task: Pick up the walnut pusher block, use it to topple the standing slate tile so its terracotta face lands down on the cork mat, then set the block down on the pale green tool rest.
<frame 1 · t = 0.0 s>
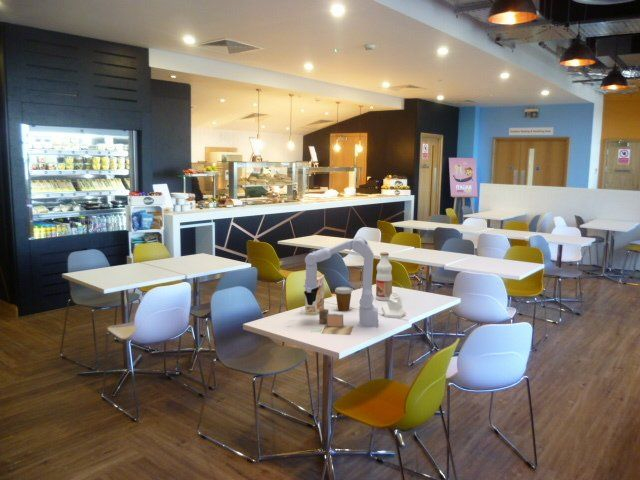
hand: (311, 303, 271), 10 cm above the table, fingers open, 7 cm apart
disposable coffee cup: (343, 309, 296), on the table
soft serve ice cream: (393, 315, 285), on the table
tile: (335, 326, 264), resting on mat
tool rest: (316, 331, 258), on the table
mat: (337, 330, 259), on the table
fruit juice: (383, 299, 318), on the table
coffeecake box: (315, 311, 293), on the table
pusher block: (323, 323, 270), on the table
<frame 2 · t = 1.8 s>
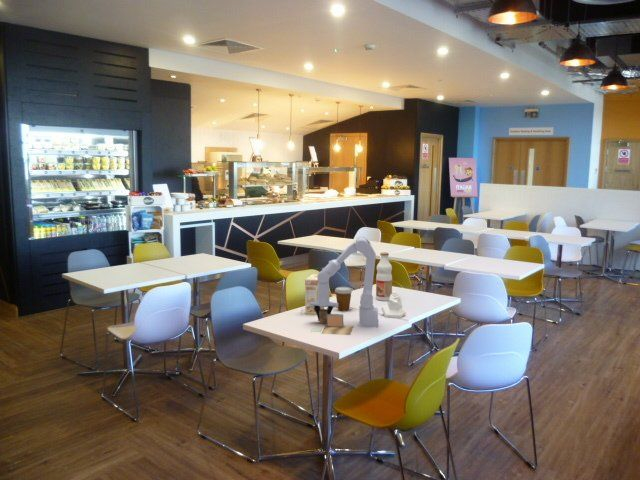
hand: (323, 320, 270), 2 cm above the table, fingers closed on pusher block, 4 cm apart
pusher block: (323, 323, 270), on the table, touching gripper
everything else where it was.
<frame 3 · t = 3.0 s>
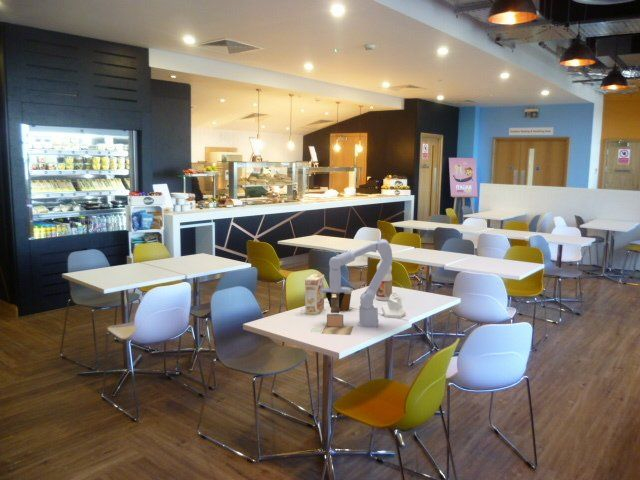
hand: (335, 307, 268), 9 cm above the table, fingers closed on pusher block, 4 cm apart
pusher block: (335, 311, 268), point 6 cm above the table, touching gripper
everything else where it was.
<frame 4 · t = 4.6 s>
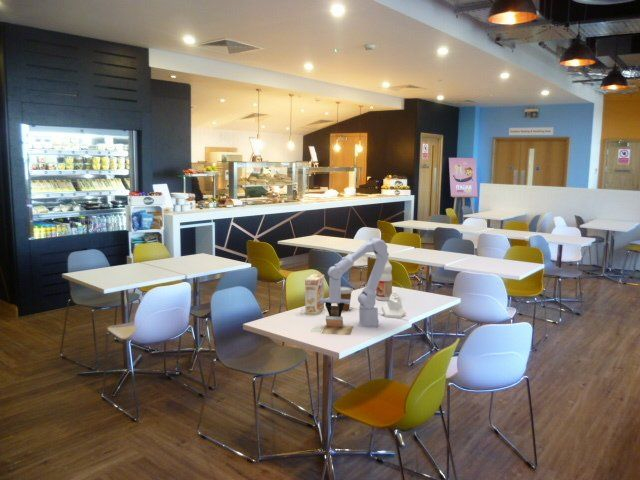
hand: (335, 317, 264), 5 cm above the table, fingers closed on pusher block, 4 cm apart
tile: (335, 325, 264), point 1 cm above the table, tilted 35°, touching mat
pusher block: (335, 320, 266), point 3 cm above the table, tilted 14°, touching gripper
everything else where it was.
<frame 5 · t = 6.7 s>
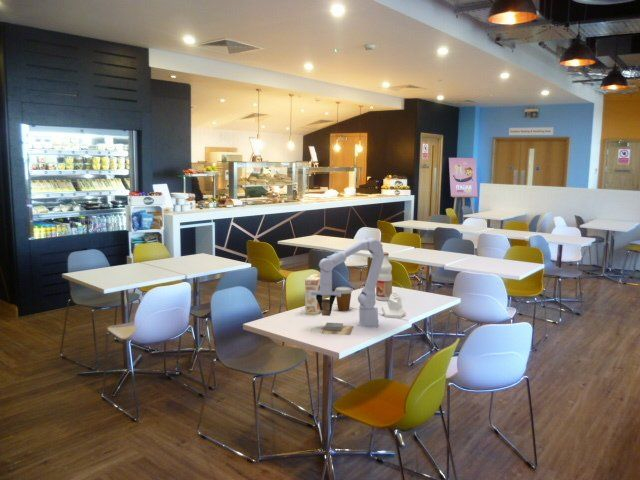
hand: (326, 310, 262), 9 cm above the table, fingers closed on pusher block, 4 cm apart
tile: (334, 324, 263), point 2 cm above the table, tilted 90°, touching mat
pusher block: (326, 313, 264), point 7 cm above the table, tilted 12°, touching gripper
everything else where it was.
when the fingers open (3 cm above the table, at t = 8.6 s): pusher block moves 2 cm and tips over, point 2 cm above the table.
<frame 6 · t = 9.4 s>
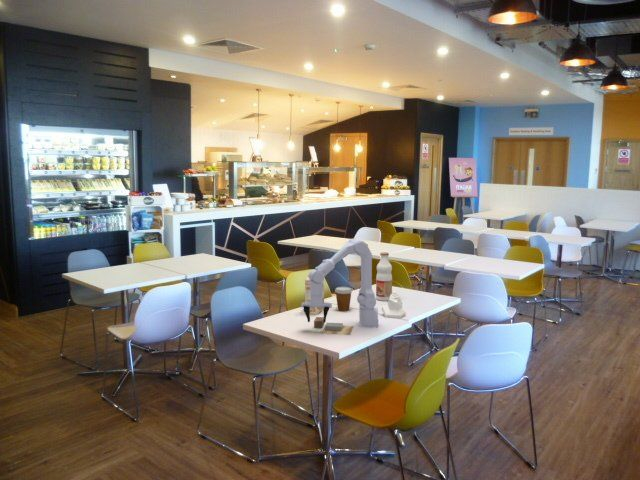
hand: (316, 321, 258), 5 cm above the table, fingers open, 7 cm apart
pusher block: (318, 325, 262), point 2 cm above the table, tilted 90°
everything else where it was.
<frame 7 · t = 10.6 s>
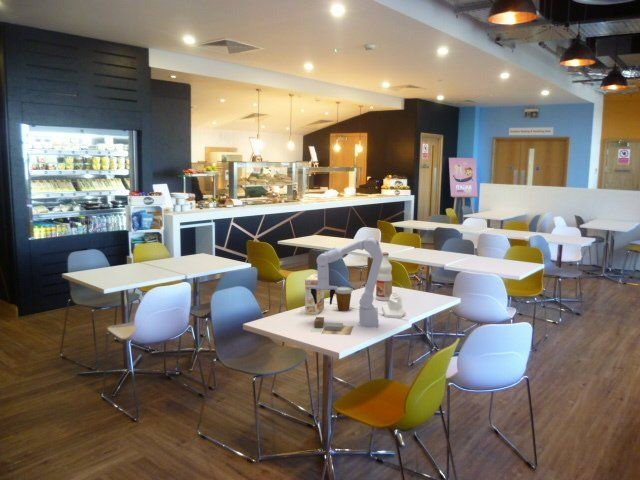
hand: (323, 303, 270), 10 cm above the table, fingers open, 7 cm apart
nothing on the table moved.
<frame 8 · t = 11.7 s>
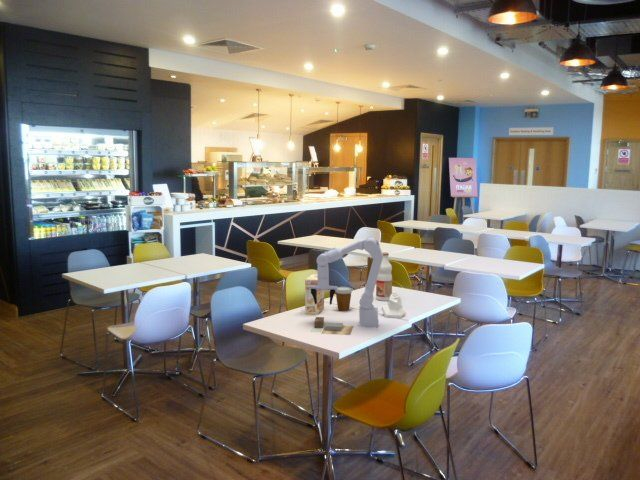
hand: (323, 303, 270), 10 cm above the table, fingers open, 7 cm apart
nothing on the table moved.
at the end: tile tilted 90°; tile inside the target area on the mat (2.1 cm from its centre), point 1.5 cm above the mat's base; pusher block 3.9 cm from the tool rest (horizontally) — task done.
